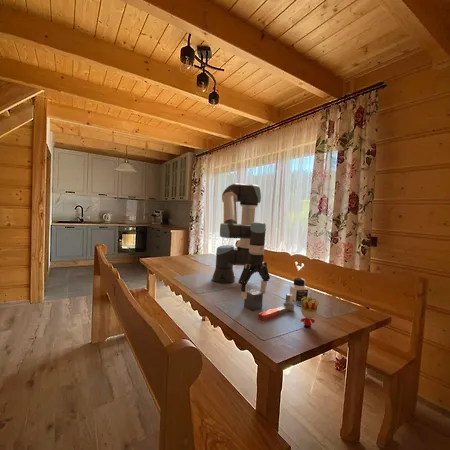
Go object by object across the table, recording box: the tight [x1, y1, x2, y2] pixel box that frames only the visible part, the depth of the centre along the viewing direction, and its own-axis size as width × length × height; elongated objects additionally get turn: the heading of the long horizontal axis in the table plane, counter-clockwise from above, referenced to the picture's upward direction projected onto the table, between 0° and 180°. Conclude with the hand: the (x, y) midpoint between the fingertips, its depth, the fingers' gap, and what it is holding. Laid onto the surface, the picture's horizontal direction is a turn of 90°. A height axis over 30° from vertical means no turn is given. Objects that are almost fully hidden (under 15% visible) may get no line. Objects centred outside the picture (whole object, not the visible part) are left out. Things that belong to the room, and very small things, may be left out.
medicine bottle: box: [289, 277, 309, 303], centre depth 144 cm, size 7×7×12 cm
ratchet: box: [257, 293, 295, 322], centre depth 123 cm, size 23×5×8 cm, turn 130°
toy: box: [299, 292, 320, 329], centre depth 111 cm, size 7×7×15 cm
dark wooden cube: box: [243, 288, 264, 312], centre depth 130 cm, size 6×6×8 cm
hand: (253, 295), depth 129 cm, fingers open, 13 cm apart
